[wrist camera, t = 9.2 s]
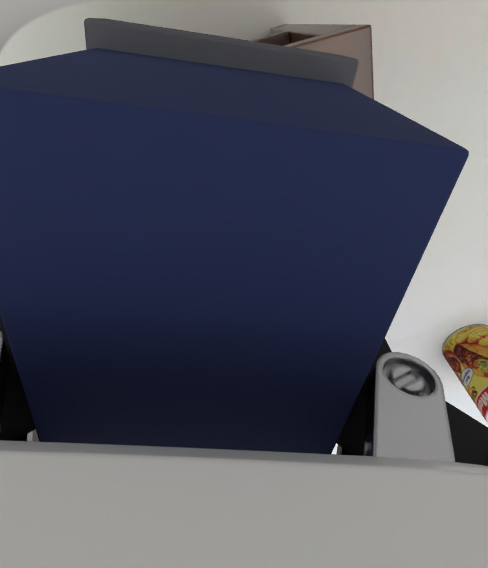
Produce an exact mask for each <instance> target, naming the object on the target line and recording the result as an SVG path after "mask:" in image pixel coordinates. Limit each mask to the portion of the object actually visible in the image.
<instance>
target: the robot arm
mask: <svg viewBox="0 0 488 568" xmlns="http://www.w3.org/2000/svg"><path fill="white" fill-rule="evenodd" d="M35 429H36V428H35V425H34V422H33V419H32V415H31V412H30V409H29V406H28V402H27V399H26V396H25V393H24V389H23V386H22V383H21V380H20V376H19V373H18V370H17V366H16V363H15V360H14V357H13V353H12V350H11V347H10V344H9V340H8V337H7V334H6V331H5V327H4V324H3V321H2V318H1V314H0V568H488V427H486V426H485V425H483V424H481V423H480V422H478V421H477V420H475V419H473V418H472V417H470V416H469V415H467V414H465V413H464V412H462V411H461V410H459V409H457V408H456V407H454V406H453V405H451V404H449V403H448V402H446V401H445V396H444V390H443V385H442V382H441V380H440V378H439V376H438V375H437V374H436V372H435V371H434V370H433V369H432V368H431V367H430V366H429V365H427V364H426V363H425V362H423V361H421V360H420V359H418V358H416V357H413V356H411V355H408V354H404V353H399V352H391V350H390V348H389V346H388V344H387V341H386V339H385V338H384V340H383V342H382V344H381V347H380V349H379V351H378V353H377V355H376V358H375V360H374V362H373V364H372V366H371V368H370V371H369V373H368V375H367V377H366V379H365V381H364V384H363V386H362V388H361V390H360V392H359V394H358V397H357V399H356V401H355V403H354V405H353V407H352V410H351V412H350V414H349V416H348V418H347V420H346V423H345V425H344V427H343V429H342V431H341V434H340V436H339V438H338V440H337V442H336V443H337V444H338V447H337V455H334V454H314V453H293V452H272V451H251V450H228V449H205V448H182V447H158V446H134V445H110V444H84V443H57V442H32V440H33V432H32V431H33V430H35Z"/></svg>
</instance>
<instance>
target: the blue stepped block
mask: <svg viewBox="0 0 488 568" xmlns="http://www.w3.org/2000/svg"><path fill="white" fill-rule="evenodd" d="M84 27H85V38H86V49H87V50H83V51H78V52H73V53H68V54H63V55H57V56H52V57H47V58H42V59H37V60H32V61H26V62H21V63H16V64H11V65H6V66H1V67H0V314H1V318H2V321H3V324H4V327H5V331H6V334H7V337H8V340H9V344H10V347H11V350H12V353H13V357H14V360H15V363H16V366H17V370H18V373H19V376H20V380H21V383H22V386H23V389H24V393H25V396H26V399H27V402H28V406H29V409H30V412H31V415H32V419H33V422H34V425H35V428H36V431H37V435H38V438H39V441H40V442H57V443H84V444H110V445H134V446H158V447H182V448H205V449H228V450H251V451H272V452H293V453H314V454H331V453H332V451H333V449H334V447H335V444H336V442H337V440H338V438H339V436H340V434H341V431H342V429H343V427H344V425H345V423H346V420H347V418H348V416H349V414H350V412H351V410H352V407H353V405H354V403H355V401H356V399H357V397H358V394H359V392H360V390H361V388H362V386H363V384H364V381H365V379H366V377H367V375H368V373H369V371H370V368H371V366H372V364H373V362H374V360H375V358H376V355H377V353H378V351H379V349H380V347H381V344H382V342H383V340H384V338H385V336H386V334H387V331H388V329H389V327H390V325H391V323H392V321H393V318H394V316H395V314H396V312H397V310H398V308H399V305H400V303H401V301H402V299H403V297H404V295H405V292H406V290H407V288H408V286H409V284H410V282H411V279H412V277H413V275H414V273H415V271H416V269H417V266H418V264H419V262H420V260H421V258H422V255H423V253H424V251H425V249H426V247H427V245H428V242H429V240H430V238H431V236H432V234H433V232H434V229H435V227H436V225H437V223H438V221H439V219H440V216H441V214H442V212H443V210H444V208H445V206H446V203H447V201H448V199H449V197H450V195H451V193H452V190H453V188H454V186H455V184H456V182H457V179H458V177H459V175H460V173H461V171H462V169H463V166H464V164H465V162H466V160H467V158H468V155H469V152H468V150H466V149H465V148H463V147H461V146H459V145H458V144H456V143H454V142H452V141H450V140H448V139H446V138H444V137H443V136H441V135H439V134H437V133H435V132H433V131H431V130H429V129H428V128H426V127H424V126H422V125H420V124H418V123H416V122H415V121H413V120H411V119H409V118H407V117H405V116H403V115H401V114H400V113H398V112H396V111H394V110H392V109H390V108H388V107H386V106H385V105H383V104H381V103H379V102H377V101H375V100H373V99H371V98H370V97H368V96H366V95H364V94H362V93H360V92H358V91H357V90H355V89H353V88H352V87H353V83H354V79H355V76H356V72H357V68H358V64H359V63H358V60H357V59H354V58H351V57H347V56H344V55H339V54H333V53H326V52H319V51H313V50H306V49H300V48H293V47H287V46H280V45H274V44H267V43H261V42H254V41H248V40H241V39H234V38H228V37H221V36H215V35H208V34H202V33H195V32H189V31H182V30H176V29H169V28H163V27H156V26H149V25H143V24H136V23H130V22H123V21H117V20H110V19H98V18H87V19H85V21H84Z"/></svg>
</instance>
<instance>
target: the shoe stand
mask: <svg viewBox="0 0 488 568" xmlns="http://www.w3.org/2000/svg"><path fill="white" fill-rule="evenodd" d="M252 41H254V42H261V43H267V44H274V45H280V46H287V47H293V48H300V49H306V50H313V51H319V52H326V53H333V54H339V55H344V56H347V57H351V58H354V59H357V60H358V63H359V64H358V68H357V72H356V76H355V79H354V83H353V87H352V88H353V89H355V90H357V91H358V92H360V93H362V94H364V95H366V96H368V97H370V98H371V99H373V100H374V91H373V62H372V33H371V25H321V24H285V25H282V26H278V27H275V28H271V35H270V36H266V37H263V38H259V39H255V40H252Z"/></svg>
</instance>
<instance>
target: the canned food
mask: <svg viewBox="0 0 488 568" xmlns="http://www.w3.org/2000/svg"><path fill="white" fill-rule="evenodd" d="M442 352H443V355H444V357H445V359H446V360H447V362H448V363H449V365H450V366H451V368H452V369H453V371H454V372H455V374H456V375H457V377H458V378H459V380H460V382H461V383H462V385H463V386H464V388H465V389H466V391H467V392H468V394H469V395H470V397H471V398H472V400H473V402H474V403H475V405H476V406H477V408H478V409H479V411H480V412H481V414H482V415H483V417H484V418H485V420H486V421H487V423H488V326H486V325H479V324H477V325H470V326H467V327H463V328H461V329H459V330H457V331H456V332H454V333H453V334H451V335H450V336H449V337H448V338H447V339H446V341H445V343H444V344H443V348H442Z"/></svg>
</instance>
